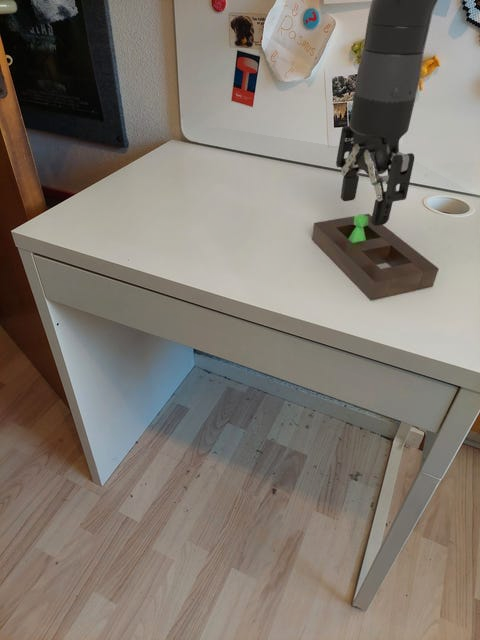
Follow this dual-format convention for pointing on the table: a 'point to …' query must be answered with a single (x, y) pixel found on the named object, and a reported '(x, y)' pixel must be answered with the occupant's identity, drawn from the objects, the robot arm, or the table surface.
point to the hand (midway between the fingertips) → (362, 211)
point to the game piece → (359, 228)
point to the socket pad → (374, 258)
